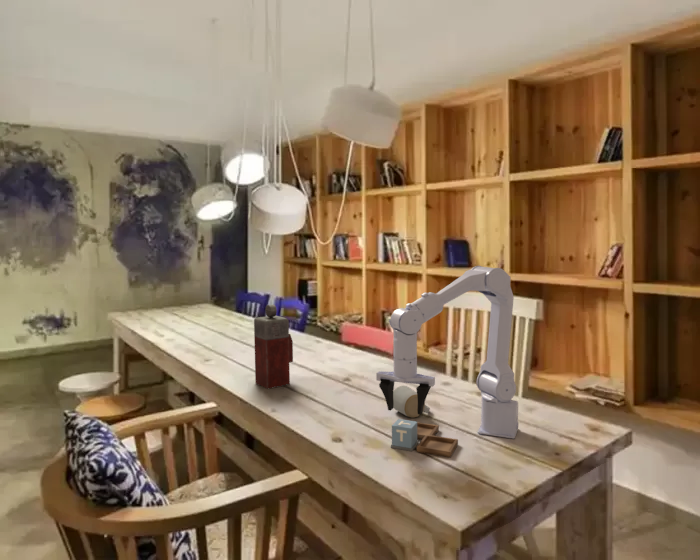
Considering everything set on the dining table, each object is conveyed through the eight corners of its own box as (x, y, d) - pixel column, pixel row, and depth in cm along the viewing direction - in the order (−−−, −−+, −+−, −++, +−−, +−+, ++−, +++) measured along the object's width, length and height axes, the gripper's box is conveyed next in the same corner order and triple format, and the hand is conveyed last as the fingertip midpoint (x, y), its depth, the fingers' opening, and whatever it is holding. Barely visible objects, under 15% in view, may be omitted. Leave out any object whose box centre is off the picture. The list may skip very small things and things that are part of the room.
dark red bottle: (295, 383, 188) (294, 304, 186) (267, 389, 181) (265, 307, 179) (282, 377, 195) (281, 301, 193) (255, 383, 189) (253, 304, 186)
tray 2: (457, 444, 134) (457, 439, 133) (450, 457, 126) (450, 451, 126) (426, 439, 137) (426, 434, 137) (416, 452, 129) (416, 446, 129)
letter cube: (417, 440, 135) (417, 421, 134) (411, 448, 130) (411, 428, 130) (398, 437, 137) (398, 418, 136) (391, 445, 132) (391, 425, 132)
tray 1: (438, 430, 143) (438, 425, 143) (430, 441, 136) (430, 436, 136) (409, 426, 146) (409, 421, 146) (399, 436, 139) (399, 431, 139)
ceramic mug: (405, 421, 150) (405, 394, 150) (389, 412, 158) (390, 386, 157) (435, 415, 155) (436, 389, 155) (419, 407, 162) (420, 382, 162)
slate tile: (418, 442, 135) (418, 440, 135) (412, 451, 130) (412, 448, 130) (398, 439, 137) (397, 437, 137) (390, 447, 132) (390, 445, 132)
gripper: (371, 358, 131) (372, 412, 132) (429, 363, 125) (429, 420, 126) (381, 352, 137) (382, 403, 138) (437, 357, 131) (437, 410, 133)
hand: (405, 411), depth 133 cm, fingers open, 7 cm apart
